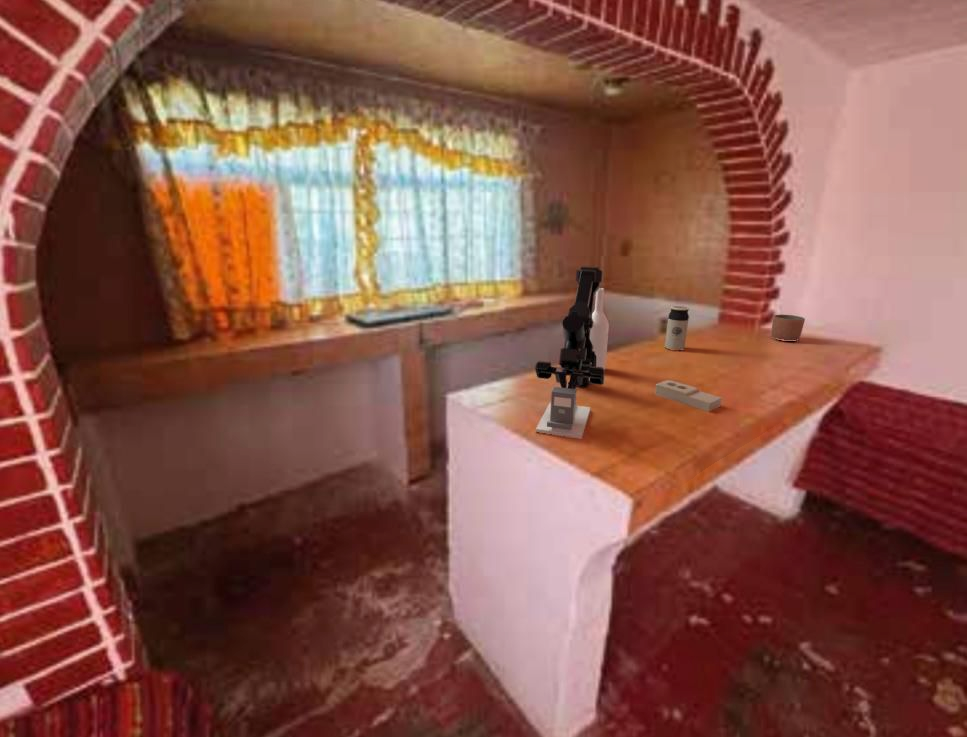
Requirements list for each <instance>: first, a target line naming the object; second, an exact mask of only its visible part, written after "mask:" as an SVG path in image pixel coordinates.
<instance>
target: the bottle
mask: <svg viewBox="0 0 967 737" xmlns="http://www.w3.org/2000/svg"><path fill="white" fill-rule="evenodd" d="M604 293H605V289H604V288H603V287H600V288H599V289H598V291H597V292H596V293H595V301H594V302H595V303H594V304H595V305H594V309H593V313H592V319H593V322H594V325H593V327H592V328H591V332H590V340H591V342H592V344H593V347H594V349H593V351H595V355H596V356H597V362H596V367H603V369H604V372H605V370H606V363H607V362H606V361H607V352H608V340H609V331H610V329H609V328H610V327H609V326H610V324H609V320H608V318H607V317H606V315H605V313H604V310H603V309H604V297H605V294H604Z"/></svg>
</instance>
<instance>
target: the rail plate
mask: <svg viewBox="0 0 967 737" xmlns="http://www.w3.org/2000/svg"><path fill="white" fill-rule="evenodd" d="M590 413H591V407H590V406H589V407H588V406H583V405H576V407H575V419H574V422H573V424H565V423H558V422H551V421H550V414H551V401H550V402H549V404H548V405H547V407H546V409H545V411H544V413H543V415H542V417H540V419H539V422H538V424H537V425H536V428H535V433H536V432H539V433H538V434H543V433H546V434H545V435H550V434H552V436H557V435H558V436H559V437H564V436H565V438H573V439H580V440H582V439H583V436H584V433H585V430H586V426H587V422H588V419H589V416H590ZM558 436H557V437H558Z"/></svg>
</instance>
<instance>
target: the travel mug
mask: <svg viewBox="0 0 967 737" xmlns="http://www.w3.org/2000/svg"><path fill="white" fill-rule="evenodd" d="M689 310H690V307H688V306H684V305H683V306H682V305H671V306H670V312H669V313H668V318H667V325H666V332H665V342H664V348H665V347H666V348H669V349H675V350H681V349H684V350H685V348H686V340H687V332H688V325H689V319H690V315H689V313H688V312H689ZM666 348H665V349H666ZM681 351H682V350H681Z"/></svg>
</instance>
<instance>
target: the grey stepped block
mask: <svg viewBox="0 0 967 737" xmlns="http://www.w3.org/2000/svg"><path fill="white" fill-rule="evenodd" d="M654 395H655V396H658V397H661V398H665V399H667V400H671V401H674V402H677V403H680V404H683V405H685V406H689V407H692V408H696V409H697V410H702V411H704V412H708V413H709V412H711V411H713V410H716V409H718V408H720V407H721V405H722V399H723V398H722V397H721V396H717V395H714V394H711V393H707V392H704V391H701V390H700V389H699V388H698V387H695V386H692V385H688V384H685V383H683V382H682V383H681V382H679V381H678V382H677V381H675V380H672V379H667V380H663V381H661V382H658V383H656V384H655V392H654Z"/></svg>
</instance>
